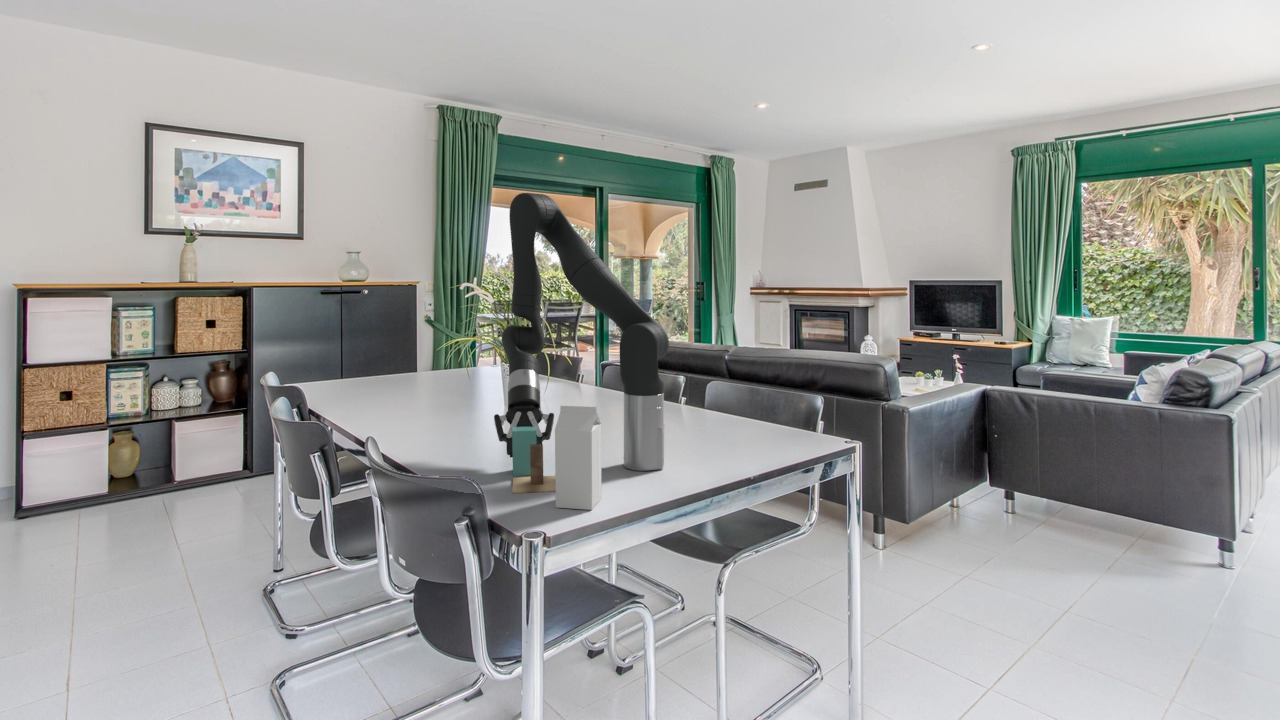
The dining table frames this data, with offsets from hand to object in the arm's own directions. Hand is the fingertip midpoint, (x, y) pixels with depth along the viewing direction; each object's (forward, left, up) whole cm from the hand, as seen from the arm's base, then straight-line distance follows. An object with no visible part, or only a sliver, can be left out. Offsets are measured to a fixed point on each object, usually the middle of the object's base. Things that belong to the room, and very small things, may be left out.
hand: (524, 454), depth 147 cm
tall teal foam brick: (0, -2, -4) cm, 5 cm away
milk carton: (-16, +18, -5) cm, 24 cm away
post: (-5, +7, -4) cm, 10 cm away
